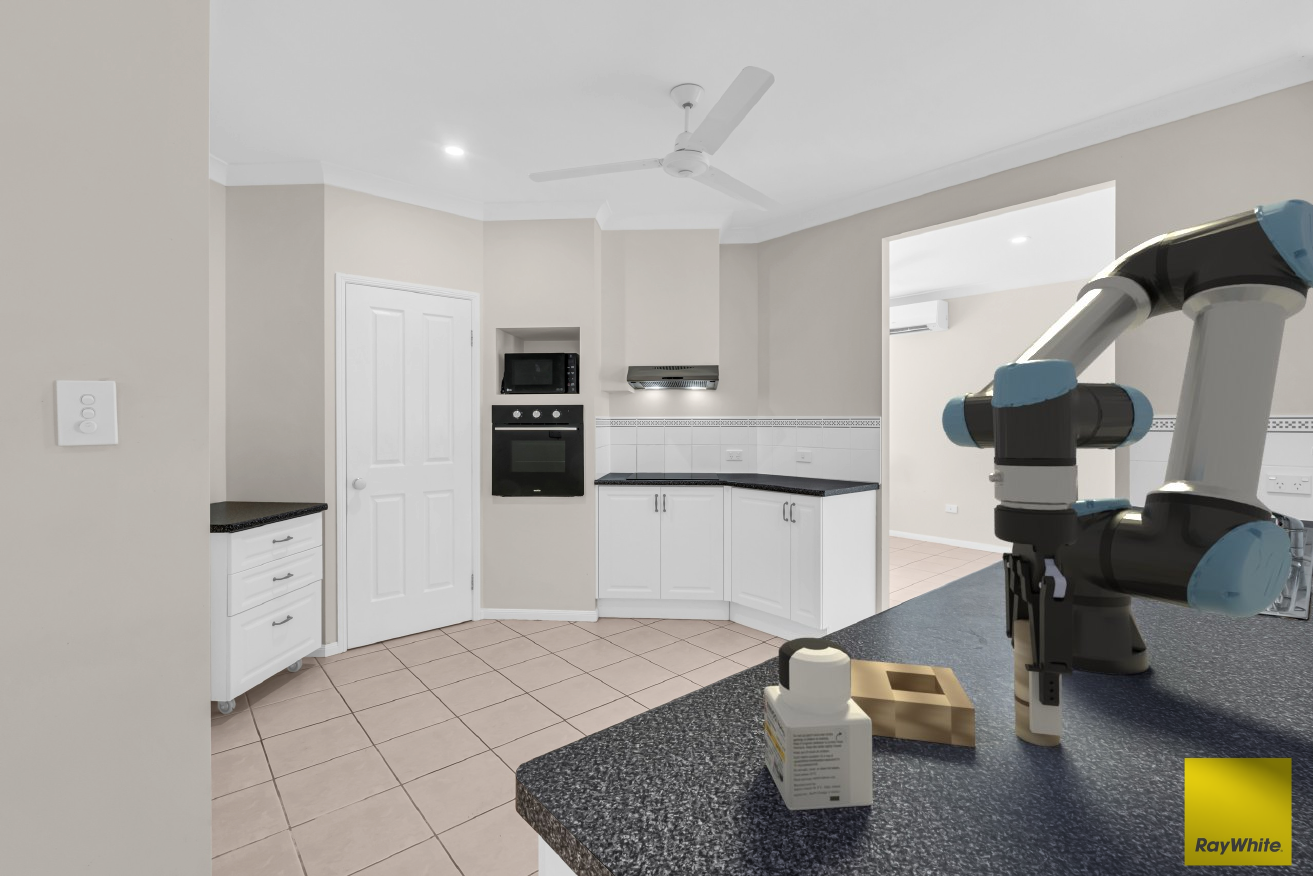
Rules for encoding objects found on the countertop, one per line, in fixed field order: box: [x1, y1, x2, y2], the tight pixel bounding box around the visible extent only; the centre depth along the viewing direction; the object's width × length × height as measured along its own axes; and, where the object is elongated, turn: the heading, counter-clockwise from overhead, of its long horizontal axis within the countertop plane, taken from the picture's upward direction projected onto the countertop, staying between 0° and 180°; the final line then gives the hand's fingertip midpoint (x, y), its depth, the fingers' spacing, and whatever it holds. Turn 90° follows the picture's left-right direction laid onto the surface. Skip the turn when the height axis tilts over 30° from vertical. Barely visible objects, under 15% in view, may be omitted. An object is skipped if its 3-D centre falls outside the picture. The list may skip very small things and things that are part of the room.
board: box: [851, 658, 976, 748], centre depth 68 cm, size 20×11×4 cm, turn 75°
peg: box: [1013, 619, 1061, 748], centre depth 62 cm, size 4×4×12 cm
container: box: [763, 637, 873, 811], centre depth 54 cm, size 8×8×13 cm
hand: (1037, 721), depth 62 cm, fingers closed on peg, 4 cm apart
